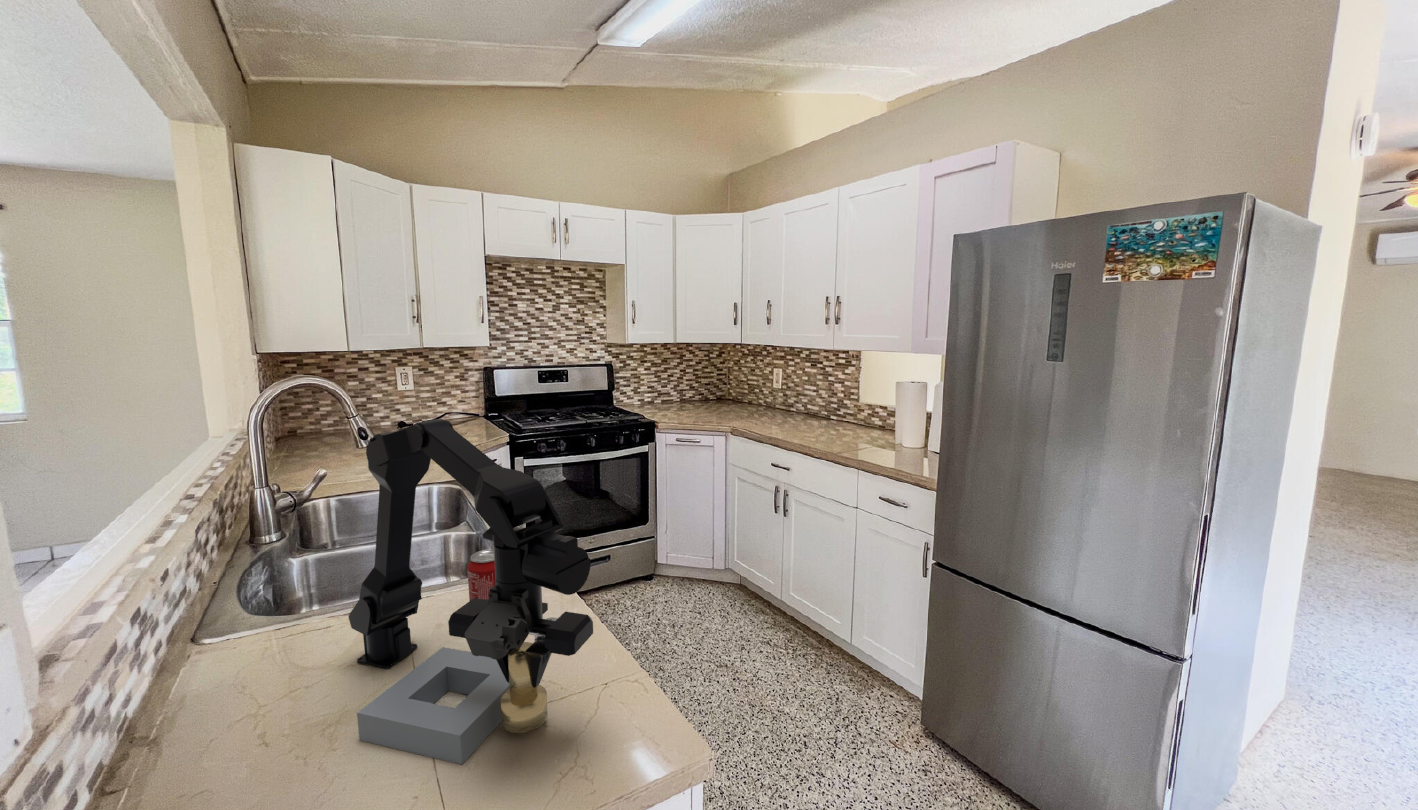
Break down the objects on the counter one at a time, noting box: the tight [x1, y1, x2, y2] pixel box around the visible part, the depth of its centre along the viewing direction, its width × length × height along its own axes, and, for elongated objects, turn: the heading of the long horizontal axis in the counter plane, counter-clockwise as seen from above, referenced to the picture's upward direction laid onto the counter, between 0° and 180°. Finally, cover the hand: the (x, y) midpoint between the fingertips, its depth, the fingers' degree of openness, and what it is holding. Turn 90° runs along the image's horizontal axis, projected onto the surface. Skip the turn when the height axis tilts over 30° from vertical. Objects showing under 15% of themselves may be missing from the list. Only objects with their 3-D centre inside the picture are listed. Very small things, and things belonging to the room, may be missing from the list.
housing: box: [356, 646, 510, 765], centre depth 81 cm, size 16×16×4 cm
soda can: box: [467, 548, 496, 602], centre depth 108 cm, size 7×7×12 cm
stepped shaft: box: [501, 641, 549, 734], centre depth 77 cm, size 6×6×10 cm
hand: (523, 683), depth 77 cm, fingers closed on stepped shaft, 4 cm apart
